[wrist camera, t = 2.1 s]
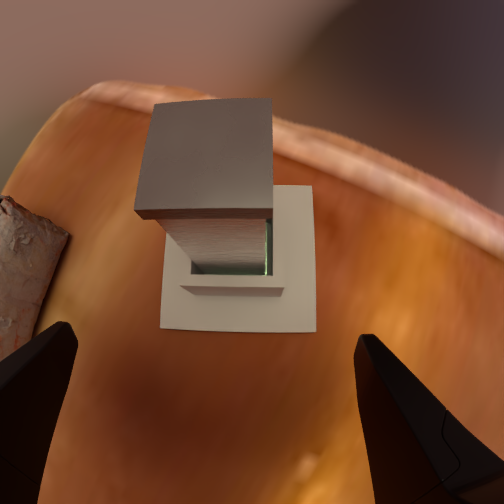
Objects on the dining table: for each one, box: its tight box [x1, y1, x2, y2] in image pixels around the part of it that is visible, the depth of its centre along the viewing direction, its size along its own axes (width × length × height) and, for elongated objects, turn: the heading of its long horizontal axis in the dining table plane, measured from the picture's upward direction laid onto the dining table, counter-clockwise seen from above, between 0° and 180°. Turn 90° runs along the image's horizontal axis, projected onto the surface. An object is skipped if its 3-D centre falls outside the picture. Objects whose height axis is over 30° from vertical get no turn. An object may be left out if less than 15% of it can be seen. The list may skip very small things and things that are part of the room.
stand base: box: [160, 185, 316, 333], centre depth 19 cm, size 10×10×6 cm
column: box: [134, 98, 273, 276], centre depth 15 cm, size 4×4×12 cm
